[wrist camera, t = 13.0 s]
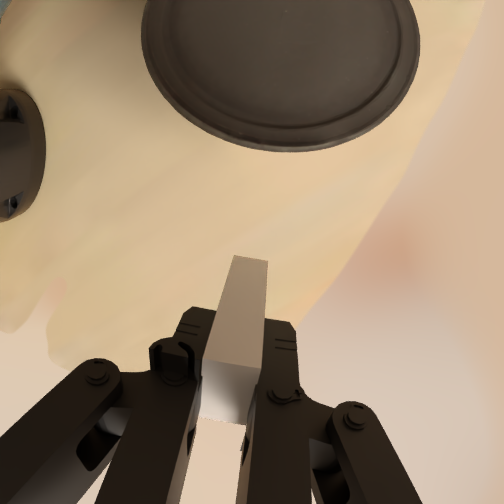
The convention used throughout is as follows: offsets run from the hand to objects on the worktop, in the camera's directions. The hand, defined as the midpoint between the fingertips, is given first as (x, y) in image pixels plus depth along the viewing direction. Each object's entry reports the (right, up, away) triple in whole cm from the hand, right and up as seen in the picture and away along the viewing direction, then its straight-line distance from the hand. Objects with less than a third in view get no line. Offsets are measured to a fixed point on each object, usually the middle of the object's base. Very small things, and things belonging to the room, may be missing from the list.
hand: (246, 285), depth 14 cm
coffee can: (+2, +15, +7) cm, 17 cm away
